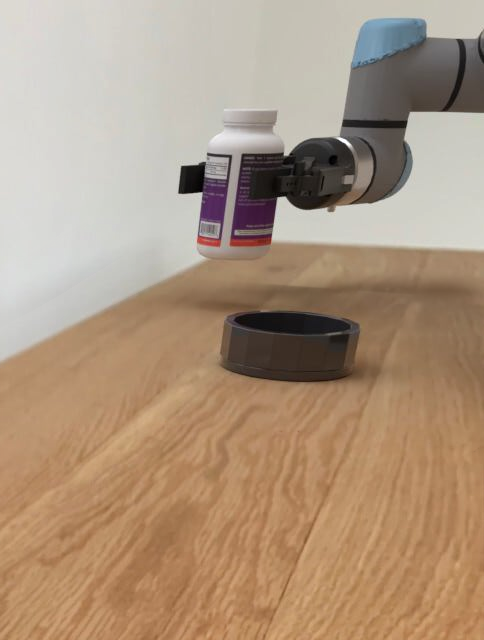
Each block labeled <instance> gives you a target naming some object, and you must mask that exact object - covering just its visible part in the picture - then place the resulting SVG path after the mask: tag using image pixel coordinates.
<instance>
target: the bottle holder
mask: <svg viewBox="0 0 484 640" xmlns="http://www.w3.org/2000/svg"><path fill="white" fill-rule="evenodd" d="M222 329H223V330H222V336H221V343H220V352H219V355H220V356H219V364H220V366H222V367H223V368H224V369H226V370H228V371H231V372H234V373H237V374H240V375H244V376H248V377H253V378H254V377H255V378H260V379H266V380H276V381H288V382H319V381H330V380H337V379H341V378H344V377H347V376H349V375H350V374H351V373H352V371H353V367H354V364H355V359H356V353H357V349H358V343H359V338H360V333H361V324H360V323H358V322H356V321H354V320H351V319H349V318H345V317H341V316H337V315H333V314H326V313H318V312H312V311H311V312H310V311H301V310H299V311H298V310H284V309H283V310H281V309H280V310H279V309H278V310H277V309H276V310H273V309H271V310H265V309H264V310H250V311H240V312H235V313H231V314H228V315H226V317H225V319H224V322H223V328H222Z"/></svg>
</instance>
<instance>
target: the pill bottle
mask: <svg viewBox="0 0 484 640" xmlns="http://www.w3.org/2000/svg"><path fill="white" fill-rule="evenodd" d="M277 120H278V109H276V108H224V109H223V112H222V120H221V121H222V126H224V127H223V130H222V131H221V132H220V133H218V134H216V135H214V137H212V138H211V139H210V141H209V142H208V144H207V148H206V149H207V150H206V157H205V162H206V166H205V175H204V184H203V192H202V194H201V202H200V211H199V220H198V227H197V228H198V229H197V236H196V251H197V253H199V255H200V256H202V257H204V258H206V259H210V260H221V261H255V260H259V259H262V258H264V257H266V256H267V255H268V254H269V252H270V251H271V246H272V241H273V232H274V226H275V217H276V212H277V204H278V198H268V199H259V200H248V194H249V187H250V180H251V172H252V170H263V169H277V168H282V163H283V157H284V156H285V146H286V145H285V142H284V140H283V138H282V137H281V136H280V135H278V134H276V133H275V132H274V126H276V123H277Z"/></svg>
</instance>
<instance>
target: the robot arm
mask: <svg viewBox="0 0 484 640" xmlns="http://www.w3.org/2000/svg"><path fill="white" fill-rule="evenodd" d="M427 25H428V24H427V21H426V20H425V19H423V18H420V17H419V18H418V17H417V18H413V17H379V18H378V17H377V18H371V19H368V20H366V21H365V22H364V23H363V24H361V26H360V28H359V30H358V35H357V38H356V41H355V46H354V50H353V55H352V60H351V62H350V65H349V68H350V70H349V78H348V83H347V91H346V98H345V102H344V109H343V116H342V122H341V126H340V131H339V135H336V136H325V137H311V138H307V139H305V140H302V141H301V142H299V143H298V144H297V145H296V146H294V147H293V148H292V150H291V151H290V152H289V154H287V155H284V157H283V163H282V168H277V169H263V170H252V172H251V180H250V187H249V194H248V200H259V199H268V198H277V199H278V198H286V200H287V201H288V202H289V204H291V205H292V206H293V207H294V208H296V209H298V210H302V211H314V210H322V209H326V211H327V212H328V213H334V212H335V211H336V207H342V206H343V207H344V206H354V205H365V204H368V205H369V204H370V205H372V204H375V203H378V202H380V201H384V200H386V199H389V198H392V197H393V196H395V195H396V194H397V193H399V192H400V191H401V190H402V189H403V188H404V186H405V185H406V183H407V182H408V181H409V178H410V176H411V173H412V170H413V164H414V159H413V153H412V150H411V147H410V145H409V143H408V142H407V140H405V137H406V132H407V127H408V123H409V117H410V115H411V113H465V114H466V113H469V114H484V28H483V29H482V31H481V32H480V33H479V35H478V36H477V37H476V38H453V37H452V38H451V37H450V38H449V37H433V36H427V35H428V34H427V31H428V30H427V27H428V26H427ZM205 166H206V161H200V162H198V164H189V165H180V173H179V179H178V180H179V181H178V190H177V195H189V194H201V193H203V184H204V175H205Z"/></svg>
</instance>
